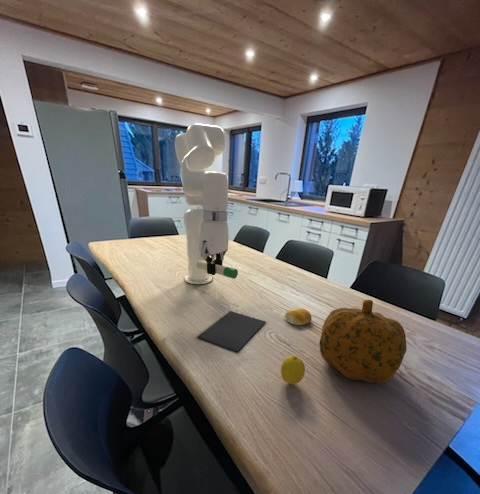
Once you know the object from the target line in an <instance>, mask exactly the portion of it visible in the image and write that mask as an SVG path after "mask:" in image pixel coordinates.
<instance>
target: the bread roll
mask: <svg viewBox="0 0 480 494" xmlns="http://www.w3.org/2000/svg"><path fill="white" fill-rule="evenodd" d="M284 318H285V320H286V321H287V322H288V323H289V324H292V325H294V326H303V325H306V324H309V323H311V322H312V314H311V312H310V311H308V310H307V309H305V308H295V309H290V310H288V311H286V312H285V314H284Z"/></svg>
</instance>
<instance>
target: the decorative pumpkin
mask: <svg viewBox="0 0 480 494" xmlns="http://www.w3.org/2000/svg"><path fill="white" fill-rule="evenodd" d="M373 306H374V301H373V300H372V299H364V300H363V301H362V307H361V308H357V307H356V308H354V307H353V308H352V307H350V308H348V307H339V308H336V309H333V310H331V311H330V313H329V314H328V315H327V317H326V318H325V320H324V321H323V324H322V327H321V335H320V338H319V343H318V344H319V352H320V355H321V357H322V359H323V360H324V361H325V362H326V363H328V364H329V365H330V366H331V367H333V368H334V369H335V370H337V371H339V372H340V374H342V375H343V376H344V377H345V378H347V379H349V380H352V381H353V380H354V381H356V380H357V381H364V382H367V383H371V384H380V383H384V382H387V381H388V380H390V379H391V378H392V377H393V376H394V375H395V374H396V373H397V371H398V370H399V369H400V368H401V365H402V362H403V360H404V357H405V354H406V352H407V347H408V346H407V336H406V332H405V329H404V327H403V325H402V324H401V323H400V322H399V321H398V320H395V319H392V318H389V317H386V316H384V315H383V314H381V313H379V312H375V311H373Z"/></svg>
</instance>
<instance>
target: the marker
mask: <svg viewBox="0 0 480 494" xmlns="http://www.w3.org/2000/svg"><path fill="white" fill-rule="evenodd" d="M196 267H197V268H198V269H201V270H205V271H207V262H205V261H201V260H198V261H197V263H196ZM238 270H239V269H237V268H234V267H230V266H224V265H222V266H221V265H217V264H216V270H215V271H216V274H215V275H220V276H223V277H226V278H230V279H233V280H234V279H237V277H238V275H239V271H238Z"/></svg>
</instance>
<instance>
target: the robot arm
mask: <svg viewBox="0 0 480 494" xmlns="http://www.w3.org/2000/svg"><path fill="white" fill-rule="evenodd" d="M226 145H227V136H226V133H225V130H224V129H223V128H222V127H221V126H219V125H213V124H203V123H193V124H190V125H189V126H188V127H187V128H186V130H185V132H181V133H179V134H177V135H176V136H175V139H174V149H175V155H176V158H177V161H178V164H179V167H180V168H179V170H180V180H181V185H182V188H183V191H184V197H185V198H184V199H185V202H186V204H187V205H188V206H190V207H195V208H190V209H187V210H186V211H184V214H183V223H184V224H183V225H184V229H185V236H186V255H187V256H186V257H187V274H186V275H185V276H184V281H185V282H186V283H188V284H192V285H205V284H209V283H210V282H212V281H213V277H212V276H216V275H217V274H216V271H215V270H216V264H217V265H221V266H223V261H224V258H225V255H226V253H227V252H229V251H228V250H229V225H228V203H229V176H228V174H227V173H226V172H222V171H215V170H206V169H208V168H210V167H211V166H212V165H213V164H214V162H215V159H217V158H218V157H220V156H221V155H222V154H223V152H224V151H225V150H226ZM198 260H201V261H205V262H207V271H205V270H201V269H198V268H197V267H196V263H197V261H198Z"/></svg>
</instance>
